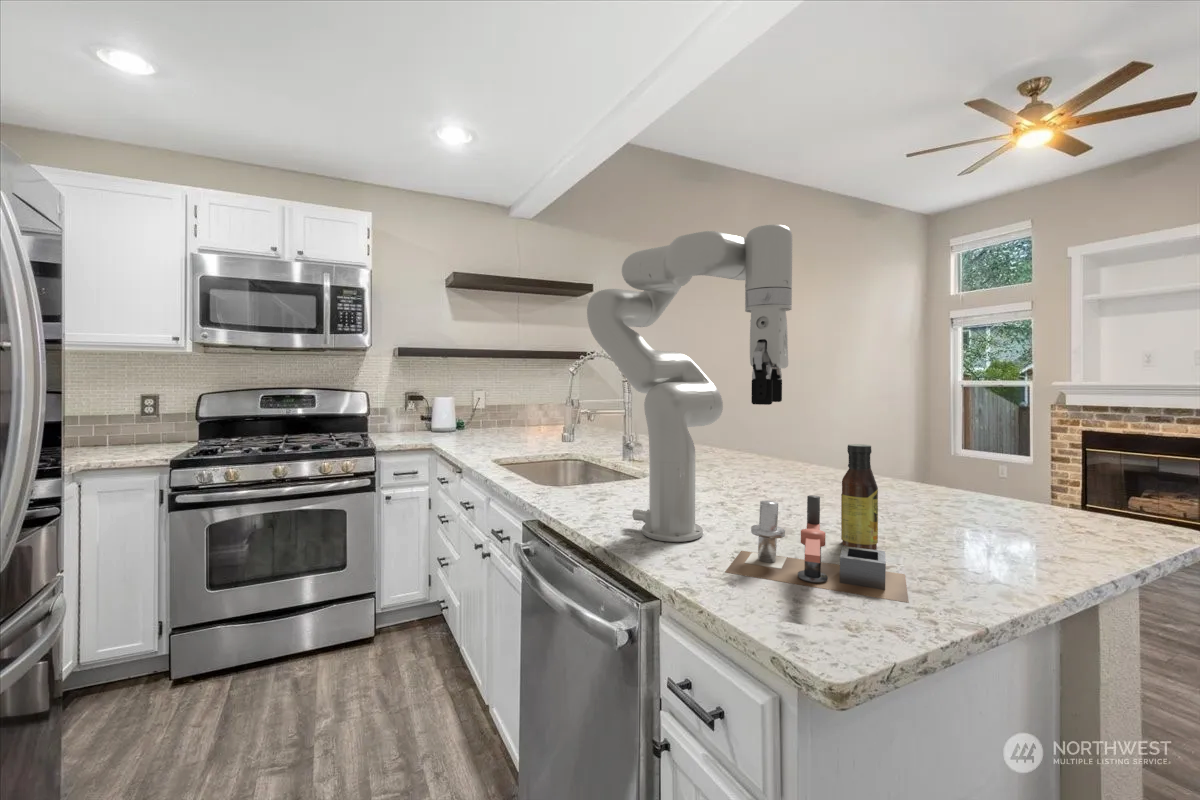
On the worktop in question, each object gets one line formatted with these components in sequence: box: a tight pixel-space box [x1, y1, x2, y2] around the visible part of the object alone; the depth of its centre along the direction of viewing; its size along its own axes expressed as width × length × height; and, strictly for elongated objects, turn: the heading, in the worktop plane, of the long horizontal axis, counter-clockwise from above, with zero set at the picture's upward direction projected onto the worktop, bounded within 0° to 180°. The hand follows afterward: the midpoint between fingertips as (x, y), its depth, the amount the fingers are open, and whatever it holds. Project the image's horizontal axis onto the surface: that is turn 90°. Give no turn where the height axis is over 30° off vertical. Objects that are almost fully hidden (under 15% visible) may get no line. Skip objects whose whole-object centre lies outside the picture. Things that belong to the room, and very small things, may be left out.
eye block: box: [839, 545, 887, 590], centre depth 83 cm, size 6×6×4 cm
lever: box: [800, 494, 826, 563], centre depth 83 cm, size 18×4×6 cm, turn 158°
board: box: [724, 550, 910, 604], centre depth 86 cm, size 26×12×1 cm, turn 63°
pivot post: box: [798, 547, 828, 584], centre depth 84 cm, size 4×4×5 cm
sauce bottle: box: [840, 443, 879, 550], centre depth 100 cm, size 6×6×20 cm
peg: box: [750, 499, 786, 563], centre depth 92 cm, size 6×6×10 cm
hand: (767, 402), depth 91 cm, fingers open, 9 cm apart
